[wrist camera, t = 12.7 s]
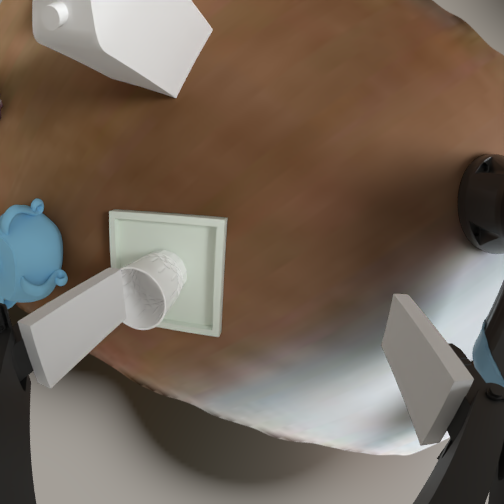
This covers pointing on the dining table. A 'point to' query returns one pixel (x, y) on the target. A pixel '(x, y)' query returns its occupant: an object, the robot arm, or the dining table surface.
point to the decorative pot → (29, 254)
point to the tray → (188, 250)
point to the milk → (126, 38)
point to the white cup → (151, 288)
